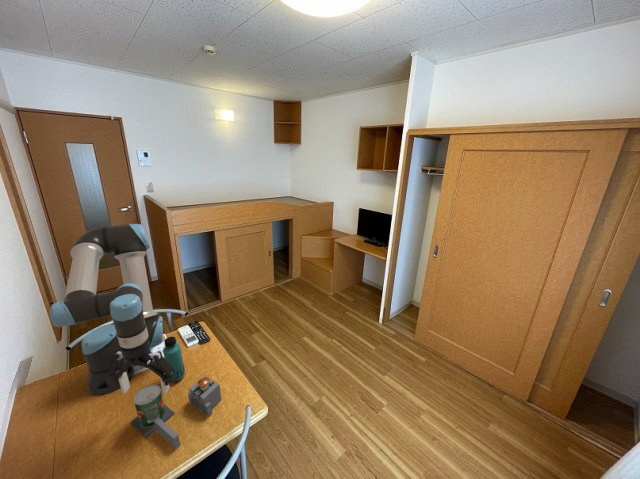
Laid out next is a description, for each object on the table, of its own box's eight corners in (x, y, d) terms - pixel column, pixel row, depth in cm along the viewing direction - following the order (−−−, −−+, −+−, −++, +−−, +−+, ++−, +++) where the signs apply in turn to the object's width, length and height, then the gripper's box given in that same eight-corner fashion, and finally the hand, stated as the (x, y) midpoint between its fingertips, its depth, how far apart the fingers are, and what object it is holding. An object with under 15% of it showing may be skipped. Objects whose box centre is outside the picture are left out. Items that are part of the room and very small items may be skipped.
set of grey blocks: (156, 431, 88) (152, 414, 86) (205, 388, 105) (202, 373, 102) (176, 449, 83) (172, 431, 81) (224, 401, 100) (222, 386, 97)
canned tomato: (134, 422, 90) (127, 399, 87) (155, 403, 97) (150, 381, 94) (150, 431, 88) (144, 408, 84) (170, 411, 95) (166, 389, 91)
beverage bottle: (178, 385, 105) (171, 346, 99) (164, 382, 107) (156, 343, 100) (189, 373, 112) (183, 335, 105) (175, 370, 113) (168, 332, 106)
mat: (130, 423, 91) (129, 421, 90) (158, 400, 99) (158, 399, 99) (146, 438, 86) (145, 437, 86) (174, 413, 94) (174, 412, 94)
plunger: (197, 396, 97) (195, 383, 95) (206, 388, 101) (204, 375, 98) (204, 401, 96) (202, 388, 93) (213, 393, 99) (212, 380, 97)
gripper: (84, 348, 78) (101, 399, 85) (168, 351, 78) (177, 401, 86) (103, 331, 85) (117, 379, 92) (180, 334, 85) (188, 382, 93)
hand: (146, 390), depth 89 cm, fingers open, 13 cm apart
